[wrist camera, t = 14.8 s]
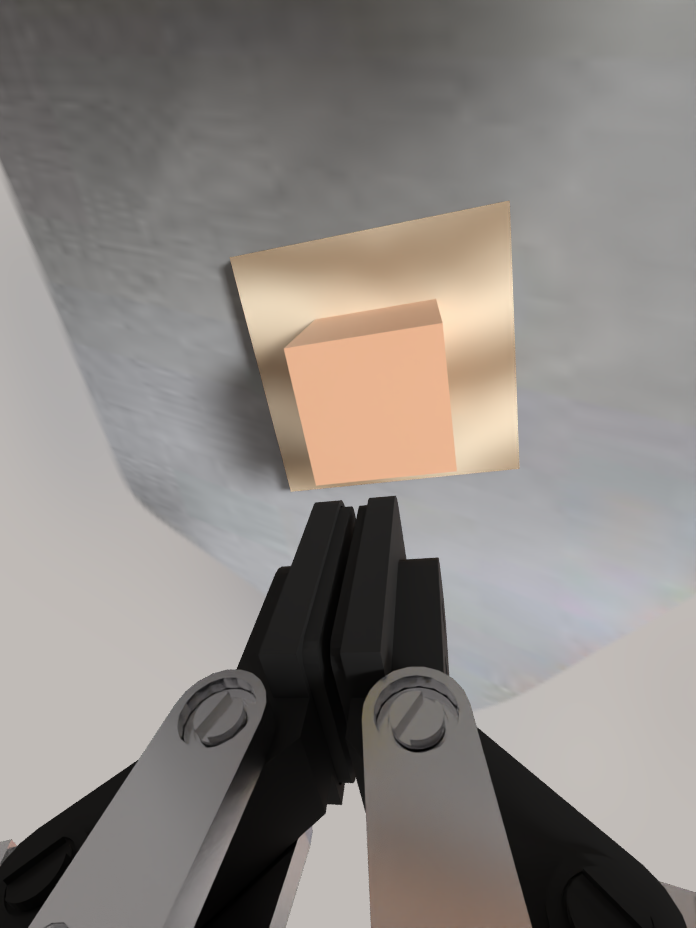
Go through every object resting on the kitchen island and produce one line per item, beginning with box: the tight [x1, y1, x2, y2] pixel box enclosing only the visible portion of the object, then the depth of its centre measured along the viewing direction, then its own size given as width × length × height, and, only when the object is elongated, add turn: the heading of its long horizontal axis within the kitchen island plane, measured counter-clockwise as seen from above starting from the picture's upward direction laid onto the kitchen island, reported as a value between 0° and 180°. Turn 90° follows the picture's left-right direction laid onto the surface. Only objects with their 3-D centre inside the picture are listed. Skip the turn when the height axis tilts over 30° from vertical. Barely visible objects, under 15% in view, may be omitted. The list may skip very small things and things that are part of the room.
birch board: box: [230, 201, 519, 492], centre depth 27 cm, size 14×14×1 cm
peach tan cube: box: [284, 299, 457, 486], centre depth 24 cm, size 6×6×7 cm
